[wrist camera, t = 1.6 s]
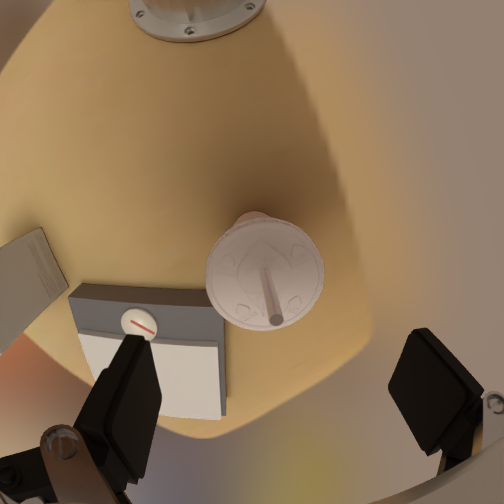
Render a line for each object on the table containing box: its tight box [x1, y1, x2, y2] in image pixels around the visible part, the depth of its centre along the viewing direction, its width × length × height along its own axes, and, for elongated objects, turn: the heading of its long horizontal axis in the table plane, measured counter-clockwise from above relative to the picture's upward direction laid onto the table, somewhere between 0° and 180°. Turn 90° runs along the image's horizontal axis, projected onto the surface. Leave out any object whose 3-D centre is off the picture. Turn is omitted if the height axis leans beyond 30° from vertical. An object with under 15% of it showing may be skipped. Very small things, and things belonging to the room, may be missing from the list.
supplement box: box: [0, 228, 68, 355], centre depth 17 cm, size 7×7×13 cm
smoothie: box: [205, 211, 324, 331], centre depth 17 cm, size 6×6×14 cm
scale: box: [68, 283, 226, 420], centre depth 25 cm, size 15×15×4 cm
